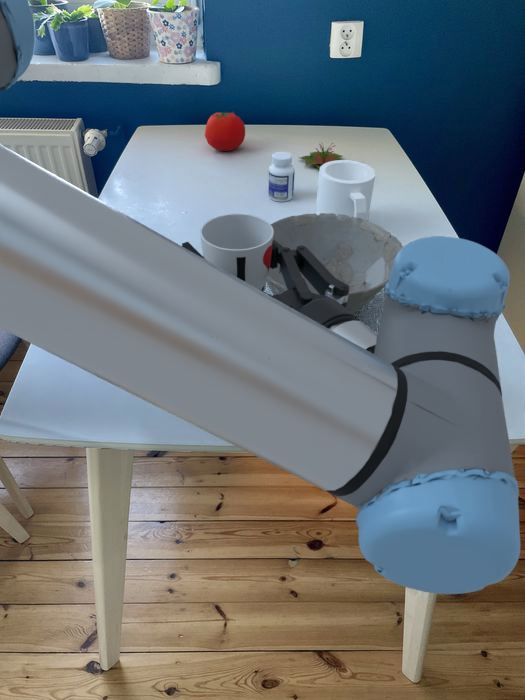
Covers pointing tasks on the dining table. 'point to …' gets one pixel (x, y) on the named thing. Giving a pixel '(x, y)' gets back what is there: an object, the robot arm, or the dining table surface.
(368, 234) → the ceramic bowl
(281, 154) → the pill bottle
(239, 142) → the tomato
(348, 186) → the mug
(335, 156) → the lily flower
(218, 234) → the cup
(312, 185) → the dining table surface
